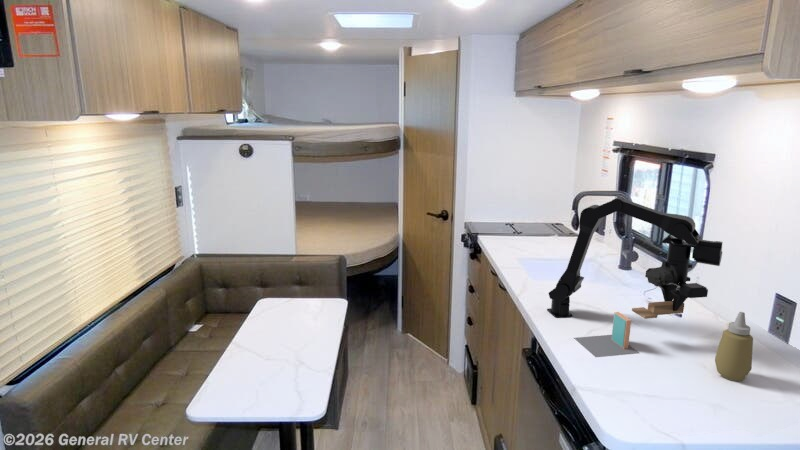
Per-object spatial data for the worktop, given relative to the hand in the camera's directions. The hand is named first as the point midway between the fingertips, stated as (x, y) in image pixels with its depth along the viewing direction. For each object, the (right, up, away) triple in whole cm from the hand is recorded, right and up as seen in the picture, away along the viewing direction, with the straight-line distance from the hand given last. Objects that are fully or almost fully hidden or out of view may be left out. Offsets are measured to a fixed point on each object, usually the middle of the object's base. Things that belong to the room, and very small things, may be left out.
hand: (671, 308), depth 141 cm
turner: (-4, -1, 0) cm, 4 cm away
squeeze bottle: (+6, -15, -16) cm, 23 cm away
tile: (-16, -10, 0) cm, 19 cm away
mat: (-20, -11, -1) cm, 23 cm away
